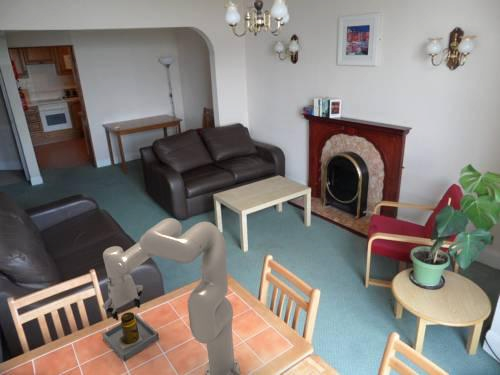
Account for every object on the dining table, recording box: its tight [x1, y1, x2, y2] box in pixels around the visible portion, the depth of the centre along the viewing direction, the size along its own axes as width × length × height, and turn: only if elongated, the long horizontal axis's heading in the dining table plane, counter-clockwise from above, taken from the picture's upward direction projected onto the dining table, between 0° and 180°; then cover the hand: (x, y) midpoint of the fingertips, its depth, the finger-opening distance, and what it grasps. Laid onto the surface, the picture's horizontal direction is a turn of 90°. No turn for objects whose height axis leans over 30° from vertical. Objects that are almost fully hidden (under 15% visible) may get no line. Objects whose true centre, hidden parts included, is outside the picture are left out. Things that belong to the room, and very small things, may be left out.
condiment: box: [117, 311, 142, 349], centre depth 154 cm, size 7×8×12 cm
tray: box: [101, 314, 160, 362], centre depth 157 cm, size 18×16×3 cm
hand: (127, 312), depth 152 cm, fingers open, 9 cm apart
